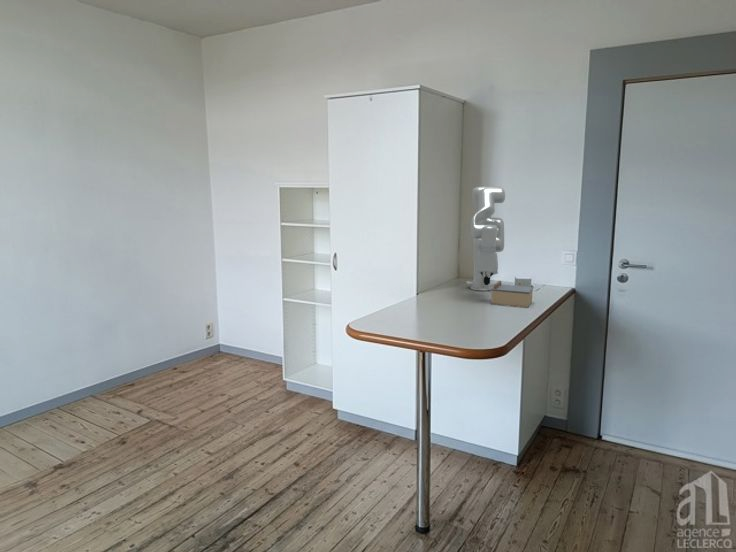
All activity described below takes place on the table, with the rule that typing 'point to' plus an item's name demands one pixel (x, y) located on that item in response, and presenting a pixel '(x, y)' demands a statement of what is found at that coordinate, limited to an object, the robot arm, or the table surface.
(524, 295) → the tray
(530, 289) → the lid
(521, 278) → the small box
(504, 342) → the table surface
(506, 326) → the table surface
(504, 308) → the table surface
